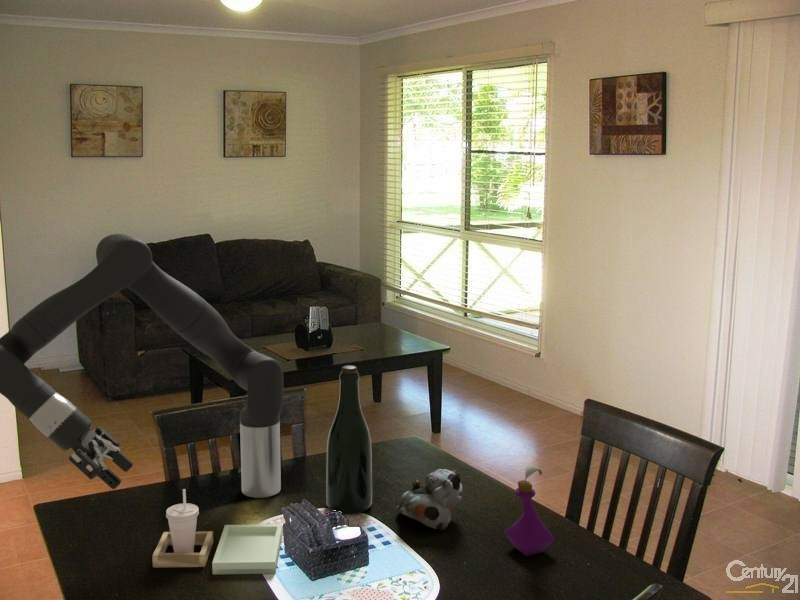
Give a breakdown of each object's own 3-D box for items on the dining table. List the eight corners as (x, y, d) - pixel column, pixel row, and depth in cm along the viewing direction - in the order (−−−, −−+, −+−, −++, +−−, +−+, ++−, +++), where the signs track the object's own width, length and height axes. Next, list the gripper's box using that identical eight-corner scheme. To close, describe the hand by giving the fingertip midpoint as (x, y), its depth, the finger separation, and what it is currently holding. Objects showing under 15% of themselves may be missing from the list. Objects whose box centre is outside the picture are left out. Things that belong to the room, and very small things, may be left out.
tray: (225, 535, 175) (225, 525, 175) (282, 534, 176) (282, 524, 175) (212, 574, 159) (212, 562, 159) (275, 573, 160) (275, 562, 160)
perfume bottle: (524, 561, 166) (528, 477, 162) (503, 545, 172) (506, 463, 169) (554, 553, 169) (558, 470, 166) (532, 538, 176) (536, 457, 172)
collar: (164, 543, 172) (163, 531, 171) (213, 542, 172) (213, 531, 172) (152, 567, 162) (152, 555, 161) (204, 566, 162) (204, 554, 162)
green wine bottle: (318, 510, 187) (317, 369, 181) (338, 493, 197) (338, 358, 191) (360, 519, 184) (360, 375, 177) (379, 500, 193) (380, 363, 187)
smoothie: (191, 564, 163) (189, 497, 161) (161, 560, 164) (158, 494, 162) (205, 548, 169) (203, 484, 167) (176, 545, 171) (174, 481, 168)
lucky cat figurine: (396, 505, 190) (422, 450, 191) (443, 529, 189) (469, 474, 190) (392, 516, 175) (421, 456, 176) (444, 541, 174) (472, 481, 175)
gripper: (61, 420, 153) (127, 478, 156) (85, 397, 167) (146, 450, 170) (34, 447, 154) (100, 505, 157) (60, 422, 168) (121, 475, 171)
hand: (124, 476), depth 163 cm, fingers open, 8 cm apart
